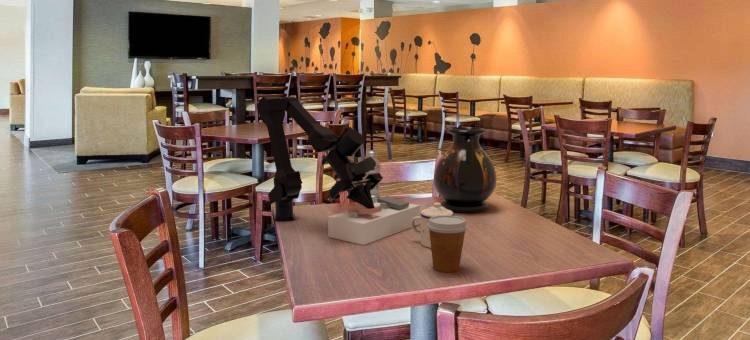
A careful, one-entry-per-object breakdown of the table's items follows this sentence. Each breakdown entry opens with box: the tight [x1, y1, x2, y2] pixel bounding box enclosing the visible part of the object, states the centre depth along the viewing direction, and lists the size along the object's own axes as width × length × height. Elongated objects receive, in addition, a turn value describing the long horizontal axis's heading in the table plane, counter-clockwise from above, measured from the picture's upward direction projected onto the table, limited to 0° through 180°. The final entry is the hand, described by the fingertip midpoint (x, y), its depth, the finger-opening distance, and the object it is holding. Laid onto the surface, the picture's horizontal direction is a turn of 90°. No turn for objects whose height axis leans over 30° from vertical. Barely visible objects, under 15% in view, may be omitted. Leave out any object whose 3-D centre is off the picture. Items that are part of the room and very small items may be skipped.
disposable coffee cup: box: [427, 215, 468, 273], centre depth 136 cm, size 10×10×12 cm
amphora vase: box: [433, 126, 497, 214], centre depth 197 cm, size 22×22×28 cm
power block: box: [327, 202, 421, 246], centre depth 170 cm, size 13×28×8 cm, turn 143°
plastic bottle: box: [363, 149, 382, 203], centre depth 198 cm, size 6×7×20 cm
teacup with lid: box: [411, 201, 455, 249], centre depth 156 cm, size 12×9×12 cm
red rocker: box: [347, 205, 382, 214], centre depth 163 cm, size 8×5×1 cm, turn 52°
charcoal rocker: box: [377, 195, 410, 209], centre depth 174 cm, size 8×5×1 cm, turn 53°
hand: (372, 208), depth 161 cm, fingers closed, pressing on red rocker
